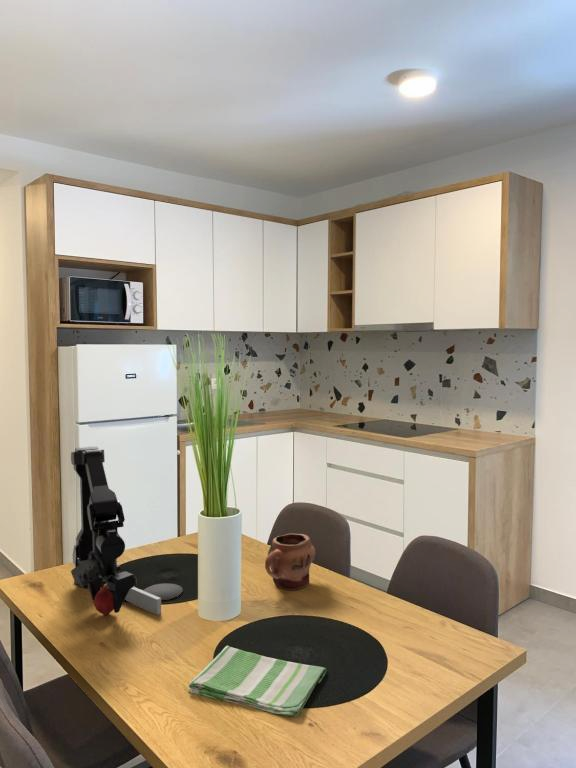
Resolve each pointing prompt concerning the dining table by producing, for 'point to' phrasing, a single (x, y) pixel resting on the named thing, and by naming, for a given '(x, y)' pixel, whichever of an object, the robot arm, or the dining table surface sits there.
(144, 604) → the low wall
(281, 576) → the brown clay mug
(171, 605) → the dining table surface
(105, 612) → the onion
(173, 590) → the rubber mat
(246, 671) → the dish towel
